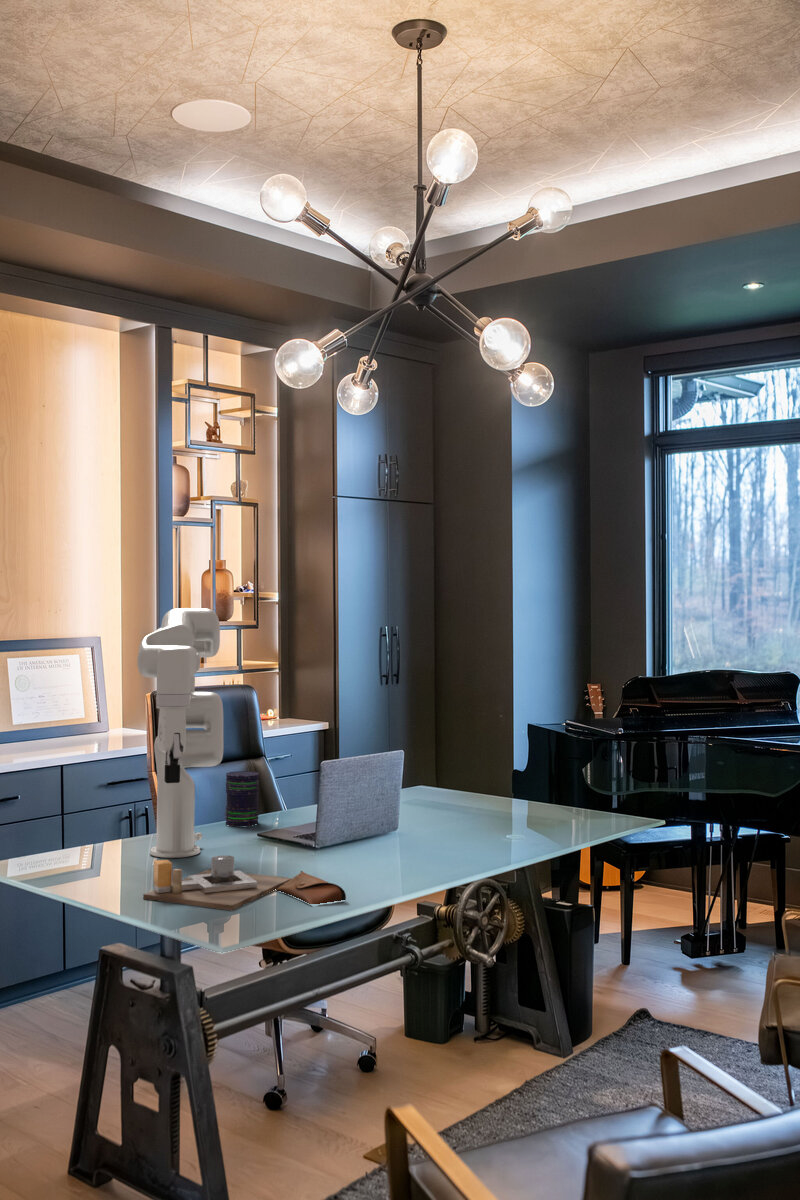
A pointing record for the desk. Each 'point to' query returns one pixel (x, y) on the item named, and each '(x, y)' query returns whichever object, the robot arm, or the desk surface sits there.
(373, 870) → the desk surface
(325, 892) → the sunglasses case
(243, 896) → the base board
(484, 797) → the desk surface
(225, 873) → the post
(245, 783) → the storage jar
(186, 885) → the square frame with handle
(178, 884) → the dowel
